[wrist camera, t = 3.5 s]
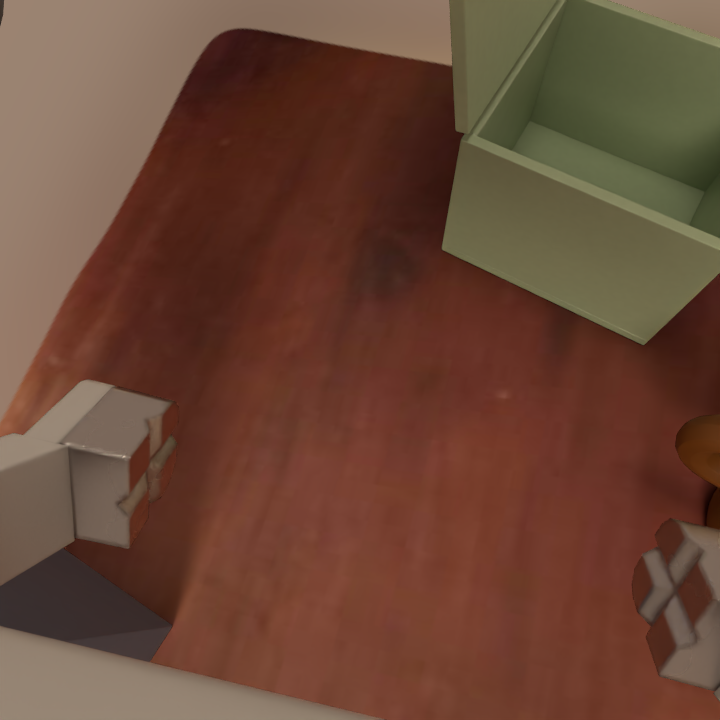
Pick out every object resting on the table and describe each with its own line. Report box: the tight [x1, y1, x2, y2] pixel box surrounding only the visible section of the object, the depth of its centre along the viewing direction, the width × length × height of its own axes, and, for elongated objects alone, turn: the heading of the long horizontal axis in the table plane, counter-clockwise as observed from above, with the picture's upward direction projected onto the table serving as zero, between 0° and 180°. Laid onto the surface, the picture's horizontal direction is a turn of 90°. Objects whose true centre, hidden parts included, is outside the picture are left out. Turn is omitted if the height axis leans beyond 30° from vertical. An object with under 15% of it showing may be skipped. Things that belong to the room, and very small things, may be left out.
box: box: [442, 0, 720, 345], centre depth 33 cm, size 13×12×10 cm
